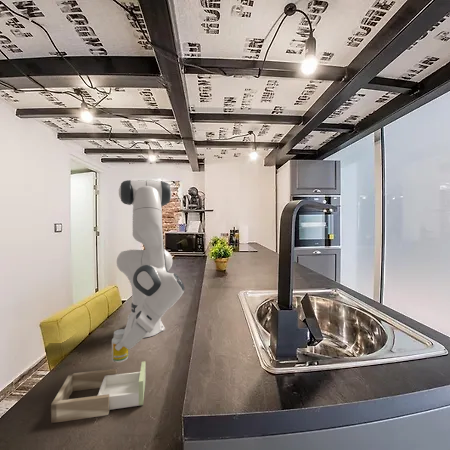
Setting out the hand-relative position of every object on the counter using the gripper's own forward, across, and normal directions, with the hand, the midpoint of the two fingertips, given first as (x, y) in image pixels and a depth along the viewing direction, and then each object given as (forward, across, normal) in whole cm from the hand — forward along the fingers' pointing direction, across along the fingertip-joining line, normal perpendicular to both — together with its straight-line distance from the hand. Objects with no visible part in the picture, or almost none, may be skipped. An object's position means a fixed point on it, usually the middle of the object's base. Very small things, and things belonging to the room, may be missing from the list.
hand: (118, 343), depth 91 cm
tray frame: (+12, +13, +3) cm, 18 cm away
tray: (+6, +13, +9) cm, 17 cm away
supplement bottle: (+4, 0, +4) cm, 6 cm away
